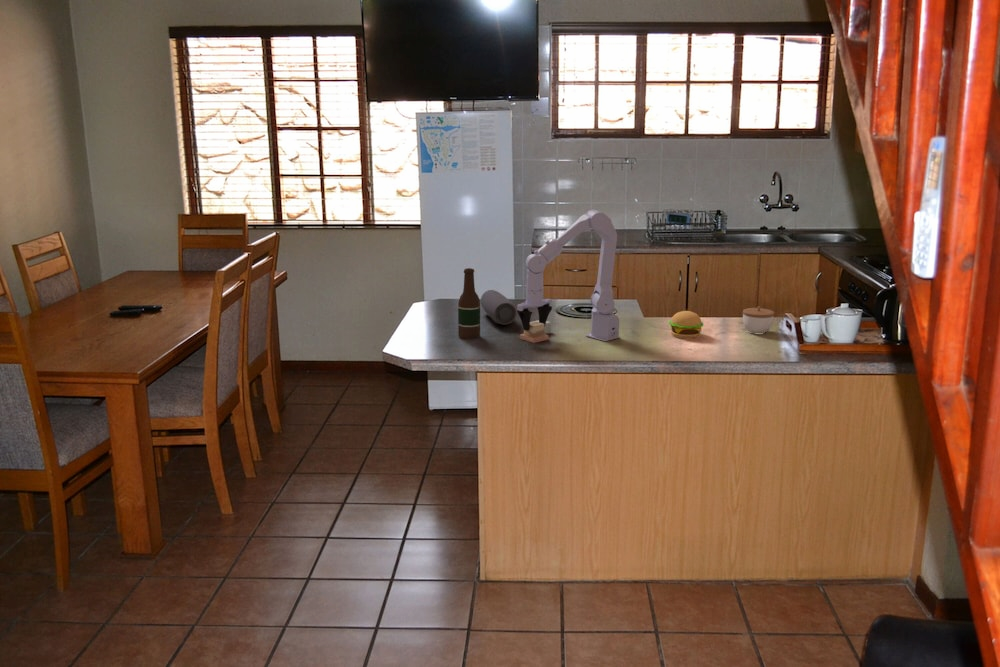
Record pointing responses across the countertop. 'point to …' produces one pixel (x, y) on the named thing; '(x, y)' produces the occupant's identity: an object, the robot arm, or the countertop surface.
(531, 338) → the plinth
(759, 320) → the lidded jar
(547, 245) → the robot arm
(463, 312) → the beer bottle
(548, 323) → the sage block
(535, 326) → the maple block
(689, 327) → the hamburger
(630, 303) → the countertop surface
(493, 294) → the bluetooth speaker
